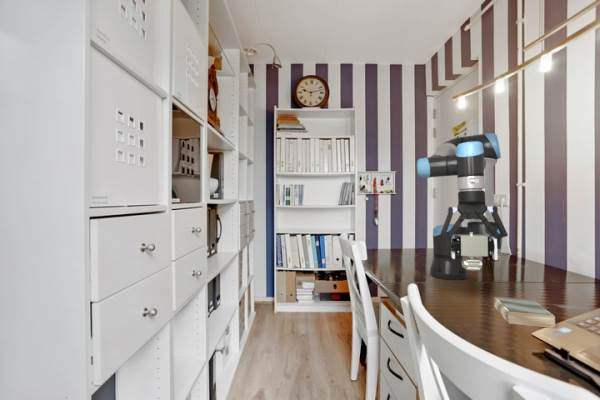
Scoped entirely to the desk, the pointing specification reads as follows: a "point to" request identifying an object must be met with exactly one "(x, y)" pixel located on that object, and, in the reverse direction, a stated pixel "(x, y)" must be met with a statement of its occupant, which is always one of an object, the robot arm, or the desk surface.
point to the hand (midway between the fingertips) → (473, 258)
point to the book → (523, 312)
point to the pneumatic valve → (472, 249)
